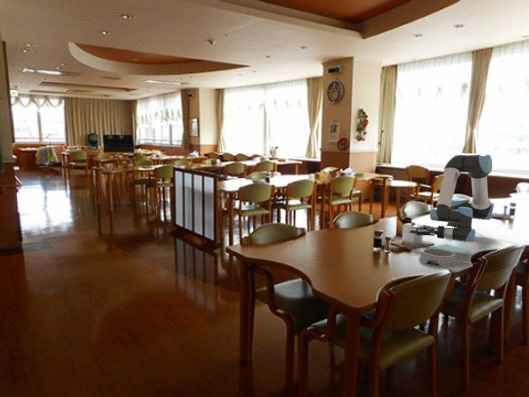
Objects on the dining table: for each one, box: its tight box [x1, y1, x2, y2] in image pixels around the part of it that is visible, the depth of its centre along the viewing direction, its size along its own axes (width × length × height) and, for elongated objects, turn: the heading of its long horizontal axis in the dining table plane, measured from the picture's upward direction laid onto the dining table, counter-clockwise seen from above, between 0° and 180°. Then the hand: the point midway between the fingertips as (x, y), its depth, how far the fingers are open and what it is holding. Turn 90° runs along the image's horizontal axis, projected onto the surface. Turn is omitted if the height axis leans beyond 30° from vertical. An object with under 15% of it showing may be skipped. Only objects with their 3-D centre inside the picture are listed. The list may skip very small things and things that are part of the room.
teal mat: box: [427, 243, 471, 255], centre depth 223 cm, size 16×16×1 cm
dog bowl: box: [418, 247, 458, 268], centre depth 202 cm, size 17×18×5 cm
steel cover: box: [401, 221, 424, 245], centre depth 233 cm, size 11×11×13 cm
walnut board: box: [391, 239, 435, 250], centre depth 235 cm, size 20×16×2 cm
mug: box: [395, 216, 413, 238], centre depth 255 cm, size 10×14×12 cm
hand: (407, 228), depth 235 cm, fingers open, 13 cm apart
